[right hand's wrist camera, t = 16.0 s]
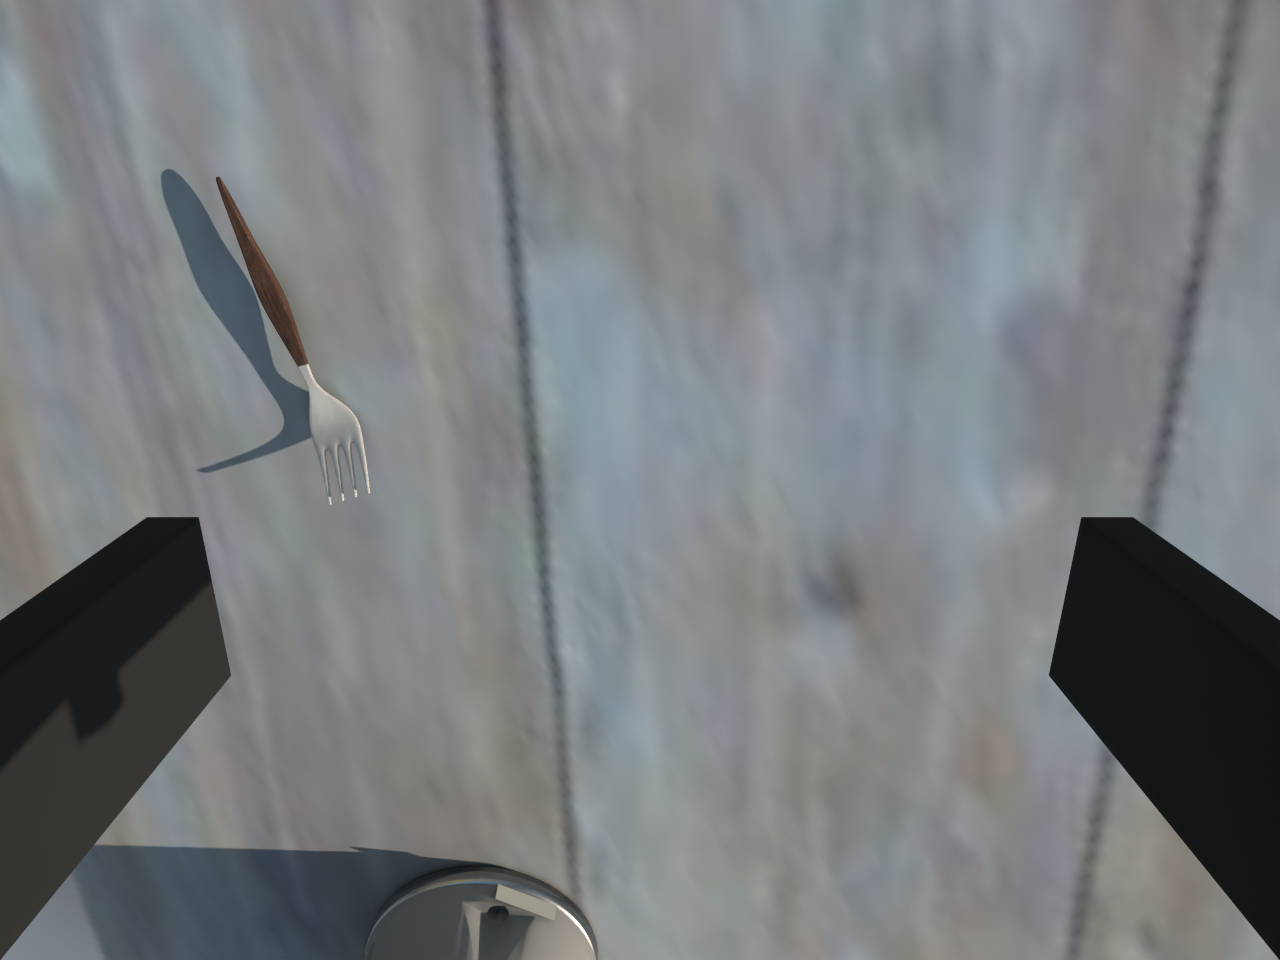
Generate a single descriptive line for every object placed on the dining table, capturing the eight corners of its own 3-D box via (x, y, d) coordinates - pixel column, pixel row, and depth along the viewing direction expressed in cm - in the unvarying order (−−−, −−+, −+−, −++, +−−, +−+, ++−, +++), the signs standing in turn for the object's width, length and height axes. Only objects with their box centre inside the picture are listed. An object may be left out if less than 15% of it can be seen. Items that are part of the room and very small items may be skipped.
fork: (249, 168, 38) (228, 168, 36) (384, 478, 43) (373, 492, 41) (197, 185, 38) (174, 186, 36) (339, 492, 43) (325, 506, 42)
